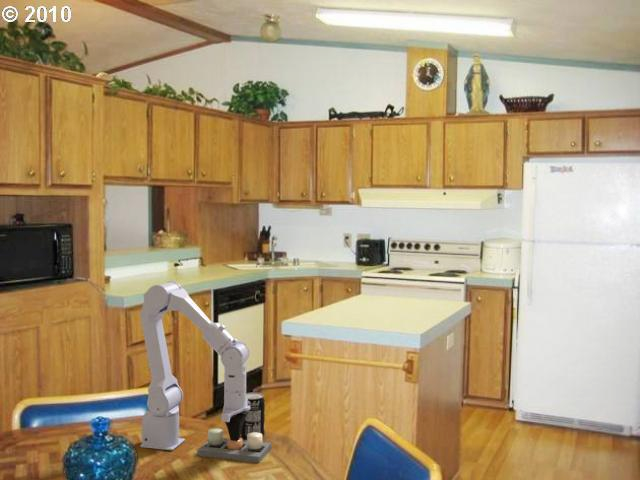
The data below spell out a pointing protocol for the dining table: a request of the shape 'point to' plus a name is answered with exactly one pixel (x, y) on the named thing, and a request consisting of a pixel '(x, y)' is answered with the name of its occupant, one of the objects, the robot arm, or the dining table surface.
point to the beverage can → (254, 415)
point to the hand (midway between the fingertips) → (235, 440)
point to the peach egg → (234, 444)
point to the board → (234, 452)
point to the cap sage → (215, 436)
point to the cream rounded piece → (254, 440)
